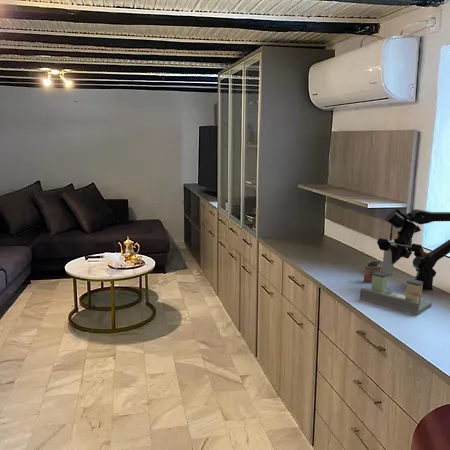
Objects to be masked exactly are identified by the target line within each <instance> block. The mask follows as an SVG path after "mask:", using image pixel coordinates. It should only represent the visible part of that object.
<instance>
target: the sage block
mask: <svg viewBox="0 0 450 450" xmlns="http://www.w3.org/2000/svg"><path fill="white" fill-rule="evenodd" d="M372 275H373V276H372V283H371V289H370V290H371V291H375V292H379V293H383V294H386V291H387V287H388V286H387V284H388V276H389V275H388V274H386V273H382V272H381V271H380V272H374V273H372Z"/></svg>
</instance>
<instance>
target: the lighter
mask: <svg viewBox="0 0 450 450" xmlns="http://www.w3.org/2000/svg"><path fill="white" fill-rule="evenodd" d="M380 264H381V261H380V260H373V259H371V260H370V261H369V260H368V261H367V265H364V275H363V281H362V282H363V283H364V284H372V276H373V275H372V273H374V272H381V270H382V265H380Z"/></svg>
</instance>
